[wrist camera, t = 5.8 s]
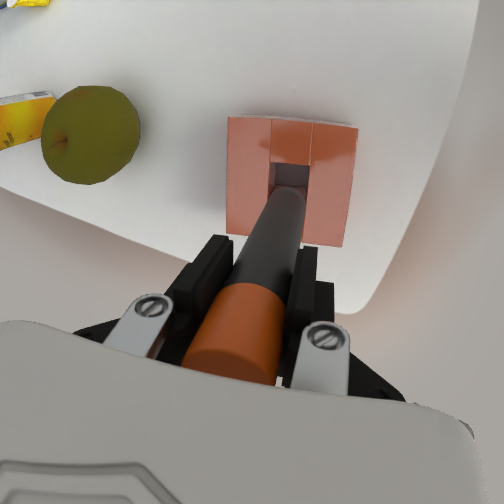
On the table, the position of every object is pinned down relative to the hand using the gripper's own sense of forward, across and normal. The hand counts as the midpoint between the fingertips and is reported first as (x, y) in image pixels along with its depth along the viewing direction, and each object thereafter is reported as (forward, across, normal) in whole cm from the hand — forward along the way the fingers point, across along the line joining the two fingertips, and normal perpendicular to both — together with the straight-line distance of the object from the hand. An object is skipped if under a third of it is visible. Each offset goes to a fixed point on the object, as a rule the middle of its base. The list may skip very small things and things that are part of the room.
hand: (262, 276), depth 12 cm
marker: (+9, 0, 0) cm, 9 cm away
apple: (+19, +20, -4) cm, 28 cm away
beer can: (+19, +32, -7) cm, 38 cm away
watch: (+19, +34, -24) cm, 45 cm away
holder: (+19, +1, 0) cm, 19 cm away
